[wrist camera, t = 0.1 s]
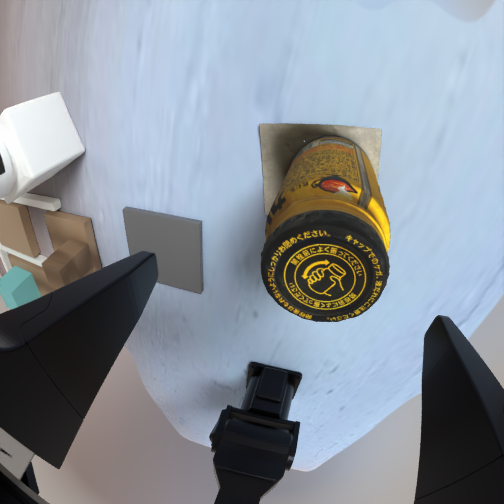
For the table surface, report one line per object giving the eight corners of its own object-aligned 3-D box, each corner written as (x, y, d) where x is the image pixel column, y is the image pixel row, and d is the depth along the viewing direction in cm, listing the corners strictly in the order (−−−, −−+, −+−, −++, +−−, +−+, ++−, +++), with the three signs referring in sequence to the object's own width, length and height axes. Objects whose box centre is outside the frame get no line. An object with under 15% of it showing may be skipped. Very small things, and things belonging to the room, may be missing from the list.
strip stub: (104, 276, 34) (74, 310, 29) (65, 263, 35) (36, 292, 30) (90, 218, 29) (52, 249, 24) (50, 209, 30) (14, 236, 25)
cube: (41, 297, 40) (23, 317, 36) (24, 288, 41) (7, 307, 37) (31, 273, 37) (11, 293, 33) (14, 265, 38) (-5, 283, 34)
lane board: (97, 324, 41) (92, 331, 40) (19, 287, 45) (14, 292, 44) (59, 198, 29) (51, 204, 28) (-17, 185, 33) (-23, 189, 31)
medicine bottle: (29, 123, 25) (-57, 166, 15) (61, 89, 22) (-43, 127, 12) (52, 176, 28) (-29, 231, 18) (87, 150, 25) (-11, 208, 15)
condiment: (372, 222, 22) (387, 344, 13) (265, 213, 24) (211, 324, 15) (381, 128, 18) (428, 195, 9) (260, 122, 20) (184, 181, 11)
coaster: (203, 290, 31) (201, 294, 30) (136, 271, 32) (133, 275, 32) (202, 221, 26) (199, 224, 26) (126, 206, 27) (122, 209, 27)
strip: (120, 330, 40) (98, 362, 35) (27, 288, 43) (6, 310, 38) (107, 288, 35) (79, 322, 30) (12, 251, 38) (-13, 273, 33)
